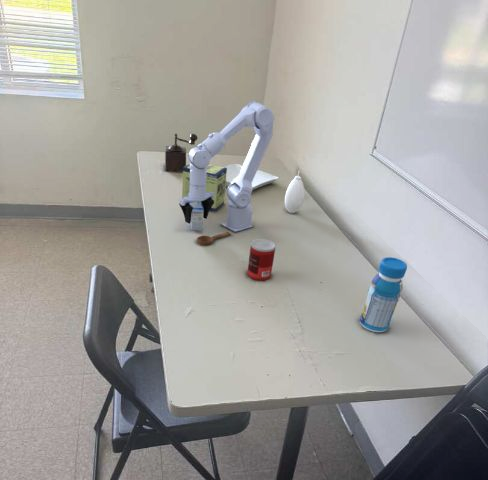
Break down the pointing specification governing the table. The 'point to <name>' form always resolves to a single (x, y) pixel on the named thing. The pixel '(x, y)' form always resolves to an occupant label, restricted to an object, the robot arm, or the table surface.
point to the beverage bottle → (383, 295)
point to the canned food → (261, 259)
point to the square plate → (258, 181)
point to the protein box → (209, 184)
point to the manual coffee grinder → (177, 155)
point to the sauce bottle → (294, 195)
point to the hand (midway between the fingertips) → (196, 220)
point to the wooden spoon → (210, 238)
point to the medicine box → (197, 216)
